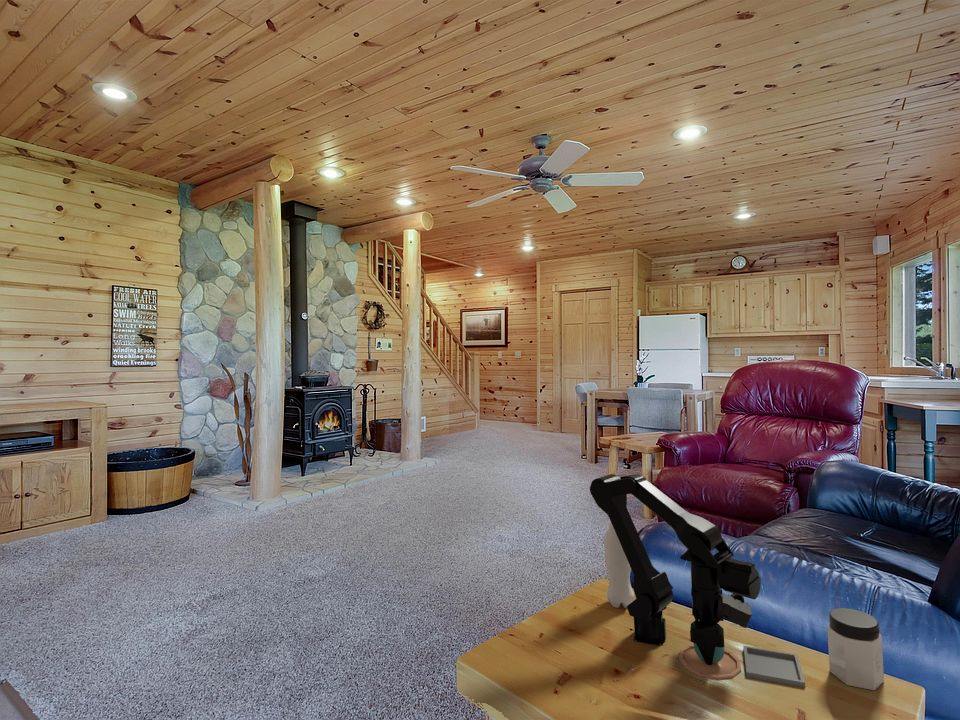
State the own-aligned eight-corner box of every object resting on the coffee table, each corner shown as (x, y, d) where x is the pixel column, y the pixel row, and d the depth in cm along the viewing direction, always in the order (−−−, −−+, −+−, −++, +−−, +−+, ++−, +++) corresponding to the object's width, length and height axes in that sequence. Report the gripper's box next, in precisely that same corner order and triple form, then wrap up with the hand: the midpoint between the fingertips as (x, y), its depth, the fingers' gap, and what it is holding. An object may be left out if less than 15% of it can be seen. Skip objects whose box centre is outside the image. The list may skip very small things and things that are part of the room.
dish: (678, 674, 107) (677, 669, 107) (681, 644, 117) (680, 639, 117) (742, 686, 102) (742, 681, 102) (739, 654, 113) (739, 649, 113)
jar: (871, 696, 97) (868, 633, 97) (823, 675, 104) (820, 616, 104) (889, 678, 102) (886, 618, 102) (843, 659, 109) (840, 603, 109)
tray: (746, 679, 104) (746, 671, 104) (743, 652, 113) (743, 645, 113) (805, 690, 100) (805, 682, 100) (797, 661, 109) (797, 654, 109)
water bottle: (608, 610, 135) (603, 515, 135) (606, 597, 142) (601, 507, 142) (636, 611, 133) (631, 515, 133) (632, 598, 141) (628, 507, 141)
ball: (694, 666, 108) (692, 637, 108) (694, 651, 113) (693, 624, 114) (725, 672, 106) (723, 643, 106) (724, 656, 111) (723, 628, 111)
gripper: (751, 610, 98) (755, 691, 98) (745, 571, 115) (748, 640, 115) (688, 601, 102) (692, 679, 102) (691, 565, 119) (694, 632, 119)
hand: (709, 656), depth 110 cm, fingers closed on ball, 6 cm apart
